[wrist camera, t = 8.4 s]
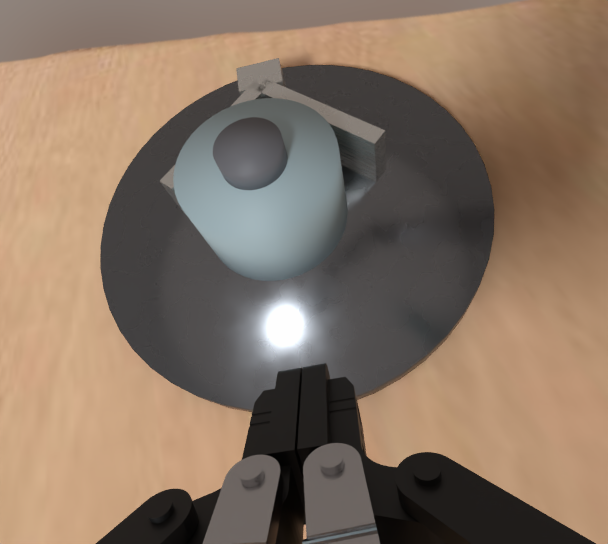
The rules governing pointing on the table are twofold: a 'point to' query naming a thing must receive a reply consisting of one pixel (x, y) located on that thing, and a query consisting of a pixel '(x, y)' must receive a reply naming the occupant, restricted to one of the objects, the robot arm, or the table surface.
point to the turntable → (328, 274)
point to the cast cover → (264, 187)
